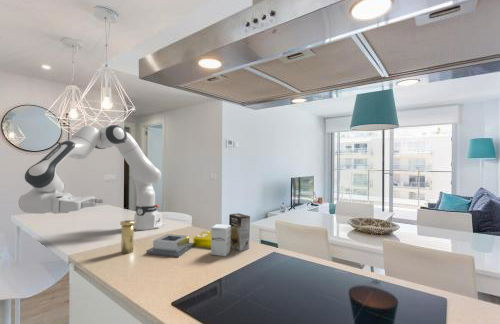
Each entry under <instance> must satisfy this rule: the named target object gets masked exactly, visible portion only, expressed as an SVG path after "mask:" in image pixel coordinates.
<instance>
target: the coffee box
mask: <svg viewBox="0 0 500 324" xmlns="http://www.w3.org/2000/svg"><path fill="white" fill-rule="evenodd" d="M228 218H229V223H228V225H231V242H230V248H232V249H235V250H237V251H240V252H241V251H246V250H249V249H250V232H251V231H250V230H251V216H250V215H247V214H242V213H239V212H238V213H232V214H231V213H230V214H229V216H228Z"/></svg>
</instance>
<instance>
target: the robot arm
mask: <svg viewBox="0 0 500 324" xmlns="http://www.w3.org/2000/svg"><path fill="white" fill-rule="evenodd" d="M112 147H116V148H117V150H118V151H119V153H120V154H121V156H122V158H124V161H125V162H126V164H127V165H128V166H129V167H130V168H131V169H133V171H132V174H131V175H132V176H131V177H132V178H133V182H134V186H135V192H136V204H135V213H134V217H133V220H134V221H135V224H134V230H138V231H142V230H143V231H146V230H147V231H149V230H156V229H160V228H162V227H164V225H166V224H167V222H166V221H165V220H164V218H163V214H161V213H160V212H159V211H158V208H159V207H160V205H159V204H156V192H155V189H154V186H153V185H154V184H157V183H159V182H160V181H161V178H162V172H161V170H160V169H159V168H157V167H156V166H155V165H154V163H152V162H151V161H150V159H149V158H148V157H147V156H146V155H145V153H144V152H143V150H142V148H141V147H140V145H139V144H138V143H137V140H135V139H134V137H133V136H132V135H131V134H130V133H129V132H128V131H125V129H124V128H123V127H121V125H118V124H112V125H108V126H105V127H102V128H100V129H98V128H96V127H95V126H93V125H84V126H82V127H81V128H80V129H78V130H77V131H76V132H75V133H74V134H73V135H72V136H71V138H70V139H69V140H65V141H62V142H60V143H59V144H58V145H57V146H55V148H53V149H52V150H51V151H50V152H49V153H47V154H46V155H45V156H44V157H43V158H42V159H41V160H39V161H38V162H36V163H35V164H33V165H31V166H30V167H28V169H27V170H26V171H25V173H24V180H25V182H26V183H28V185H30V186H31V187H32V189H31V190H29V191H28V192H26V193H25V194H21V195H20V196H19V199H18V206H19V207H18V208H19V209H20V211H22V212H23V213H25V214H26V213H27V214H34V215H35V214H37V215H38V214H39V215H40V214H43V215H45V214H49V213H51V214H54V215H58V214H69V213H70V212H76V211H80V210H82V209H85V208H89V207H90V208H91V207H92V208H93V207H96V206H97V204H102V203H104V199H103V198H97V197H96V196H94V195H86V196H84V195H83V196H82V195H81V196H75V195H72V193H71V192H64V191H65V184H64V182H63V180H62V179H61V177H60V176H59V175H58V174H57V168H58V166H59V165H61V163H62V162H64V160H65V159H66V158H68V157H69V158H72V159H76V160H82V159H86V158H88V156H90V154H91V153H92V152H93V150H94V149H98V150H104V149H107V148H112Z"/></svg>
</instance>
